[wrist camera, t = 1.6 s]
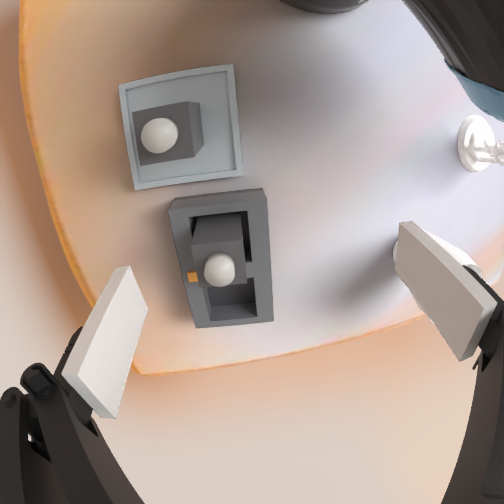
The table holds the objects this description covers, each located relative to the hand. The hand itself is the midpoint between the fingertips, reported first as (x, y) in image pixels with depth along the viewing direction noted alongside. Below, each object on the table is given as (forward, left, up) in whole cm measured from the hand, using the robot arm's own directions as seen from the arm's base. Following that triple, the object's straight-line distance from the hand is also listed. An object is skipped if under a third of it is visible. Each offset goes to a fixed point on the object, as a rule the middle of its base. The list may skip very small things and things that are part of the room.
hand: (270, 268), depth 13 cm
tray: (-6, -6, -20) cm, 22 cm away
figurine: (-4, +34, -20) cm, 39 cm away
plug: (-6, -6, -19) cm, 21 cm away
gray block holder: (+10, -3, -20) cm, 23 cm away
